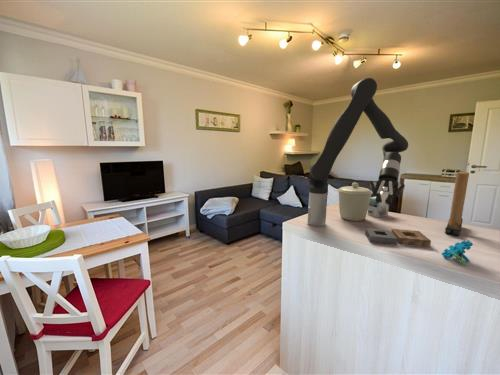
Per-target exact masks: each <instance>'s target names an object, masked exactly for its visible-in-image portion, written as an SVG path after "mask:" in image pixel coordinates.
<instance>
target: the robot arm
mask: <svg viewBox="0 0 500 375" xmlns="http://www.w3.org/2000/svg"><path fill="white" fill-rule="evenodd" d="M377 89H378V84H377V81H376V80H375V79H374V78H372V77H367V78H363V79H361V80H359V81H357V83H355V84H354V85H353V86H352V87H351V90H350V96H351V100H350V101H349V103H348V105H347V107H346V108H345V109H344V110H343V112H342V113H341V115H339V116H338V118H337V119H336V121H335V122H334V124H333V126H332V127H331V130H330V132H329V134H328V137H327V138H326V141H325V145H324V148H323V149H322V152H321V154H320V156H319V157H318V159H317V160H316V161H314V162H313V163H312V164H311V165H310V167H309V175H308V176H309V178H308V179H309V180H308V181H309V183H308V187H309V189H308V190H309V193H308V207H307V208H308V209H307V225H310V226H314V227H324V226H326V222H327V204H328V193H329V192H328V191H329V188H328V177H329V175H330V173H331V171H332V169H333V166H334V164H335V161H337V158H338V156H339V155H340V153H341V151H343V148H344V147H345V145H346V143H347V142H348V140H349V138H350V137H351V135H352V133H353V131H354V129H355V128H356V126H357V124H358V122H359V121H360V118H361V116H362V114H363V113H364V114H365V115H366V117H367V118H368V119H369V121H370V123H371V124H372V126H373V128H374V129H375V130H374V131H376V133H377V134H378V136H379V138H380V139H381V140H384V139H385V140H386V139H390V140H388V141H386V142H384V144H383V145H382V146H381V147H382V148H381V149H382V153H383V160H382V164H381V167H380V170H379V175H378V179H377V180H376V181H370V182H369V185H370V189H371V191H372V195H374V196H375V197H376V202H377V203H379V201H380V192H381V191H382V188H383V187H388V192H389V196H388V201H387V205H389V206H390V204H392V201H393V198H398V197H399V196H400V195H401V194H402V192H403V191H404V190H405V188H406V186H405V184H404V183H401V184H400V183H399V177H400V171H401V161H402V155H401V153H402V152H404V151H406V150H408V148H409V142H408V140H407V139H406V137H405V136H403V135H402V134H401V133H400V132H399V131H398V130H397V129H396V128H395V126H394V125H393V122H392V121H391V120H390V117H389V116H388V115H387V114H386V113H385V112H384V111H383V110H382V109H381V108H380V107H379V106H378V105H377V104H376V102H375V100H374V98H373V97H374V96H375V94H376V93H377ZM376 187H378V189H377V190H376ZM396 188H397V189H396ZM395 189H396V191H395V192H393V190H395Z"/></svg>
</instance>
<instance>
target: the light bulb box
mask: <svg viewBox="0 0 500 375" xmlns="http://www.w3.org/2000/svg"><path fill="white" fill-rule="evenodd" d="M389 207H390V204H389V205H388V206H387V214H386V215H380V214H378V209H379V203H377V202H376V196H371V198H370V202H369V207H368V211H367V215H368V216H371V217H374V218H380V217H385V216H389V209H390V208H389Z"/></svg>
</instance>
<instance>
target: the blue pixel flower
mask: <svg viewBox="0 0 500 375" xmlns="http://www.w3.org/2000/svg"><path fill="white" fill-rule="evenodd" d="M472 246H473V242H471V241H470V240H466V241H465V240H462V241H461V242H455V243H454V245H449V246H448V248H444V249H443V252H442V253H441V255H442V257H443V258H444V259H446V258H448V259H451V258H452V257H454V258H455V260H457V261H458V262H460V263H461V264H462V265H463V266H464V267H467V264H466V263H465V262H467V263H468V262H470V259H469V258H468V257H467V255H465V253H466V250H467V251H469V250H471V248H472Z"/></svg>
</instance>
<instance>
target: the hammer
mask: <svg viewBox="0 0 500 375" xmlns="http://www.w3.org/2000/svg"><path fill="white" fill-rule="evenodd" d="M469 176H470V173H469V172H468V171H457V172H456V175H455V180H454V181H455V182H454V190H453V194H452V202H451V207H450V215H449V219H448V222H447V225H446V227H445V228H444V230H445V231H444V232H445V234H450V235H455V236H458V237H459V236H460V233H461V230H462V227H463V212H464V207H465V199H466V195H467V194H466V193H467V187H468V183H469Z"/></svg>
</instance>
